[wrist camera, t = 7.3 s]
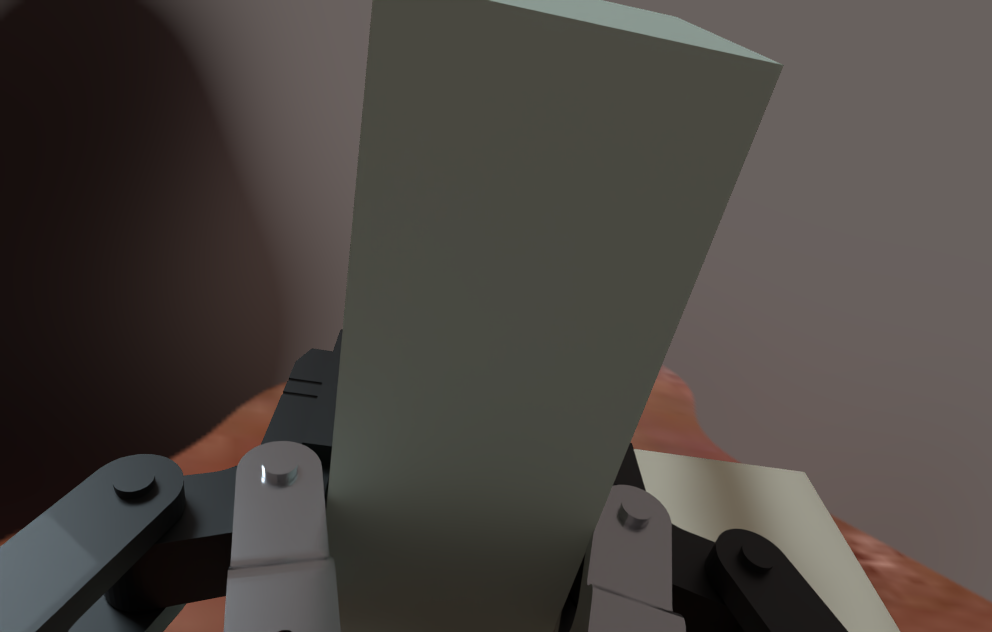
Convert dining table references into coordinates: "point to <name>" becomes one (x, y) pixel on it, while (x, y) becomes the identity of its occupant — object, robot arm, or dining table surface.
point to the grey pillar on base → (515, 290)
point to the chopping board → (768, 525)
